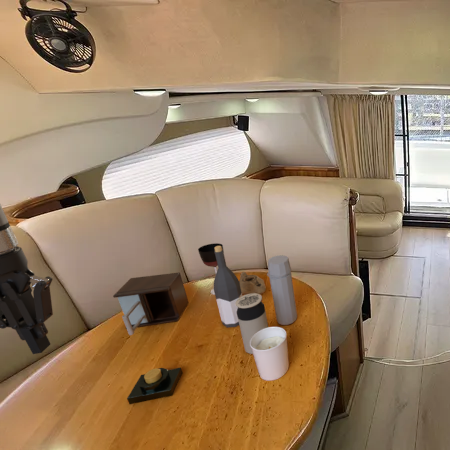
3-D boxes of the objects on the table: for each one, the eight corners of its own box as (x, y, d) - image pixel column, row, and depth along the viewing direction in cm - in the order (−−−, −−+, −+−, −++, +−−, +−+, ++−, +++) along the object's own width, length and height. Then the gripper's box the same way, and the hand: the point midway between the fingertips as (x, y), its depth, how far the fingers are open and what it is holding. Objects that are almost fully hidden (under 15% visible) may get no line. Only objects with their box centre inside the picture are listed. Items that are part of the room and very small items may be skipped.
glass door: (113, 343, 102) (100, 314, 98) (129, 324, 111) (118, 296, 107) (137, 339, 104) (126, 310, 99) (151, 320, 113) (141, 293, 108)
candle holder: (254, 386, 88) (246, 353, 84) (259, 360, 97) (252, 329, 92) (290, 379, 90) (285, 346, 86) (292, 354, 99) (287, 324, 95)
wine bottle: (251, 315, 117) (236, 243, 106) (236, 329, 110) (218, 253, 99) (233, 312, 119) (217, 240, 108) (217, 325, 112) (197, 250, 101)
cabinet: (126, 329, 110) (112, 295, 105) (141, 309, 121) (130, 278, 115) (177, 321, 114) (167, 288, 109) (188, 302, 125) (179, 272, 120)
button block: (129, 404, 83) (124, 393, 81) (143, 380, 90) (139, 369, 88) (172, 395, 85) (168, 384, 84) (182, 372, 92) (179, 362, 91)
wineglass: (211, 286, 136) (201, 244, 128) (233, 283, 138) (224, 242, 131) (206, 296, 129) (195, 253, 121) (230, 293, 131) (220, 250, 124)
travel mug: (274, 346, 102) (266, 300, 96) (249, 358, 98) (238, 311, 91) (266, 334, 108) (257, 289, 101) (241, 344, 103) (231, 299, 97)
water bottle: (302, 318, 116) (294, 258, 107) (283, 329, 110) (273, 267, 101) (287, 309, 121) (278, 251, 112) (269, 319, 115) (258, 259, 106)
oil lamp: (256, 303, 124) (253, 286, 121) (230, 295, 130) (226, 278, 127) (277, 289, 134) (274, 273, 131) (251, 282, 139) (248, 266, 136)
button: (143, 385, 84) (141, 380, 83) (149, 374, 87) (147, 369, 87) (158, 382, 85) (157, 377, 84) (164, 371, 88) (162, 367, 88)
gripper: (47, 240, 65) (88, 332, 73) (-36, 247, 61) (18, 343, 70) (17, 256, 58) (67, 355, 66) (-78, 265, 54) (-13, 368, 63)
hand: (42, 349), depth 68 cm, fingers closed
